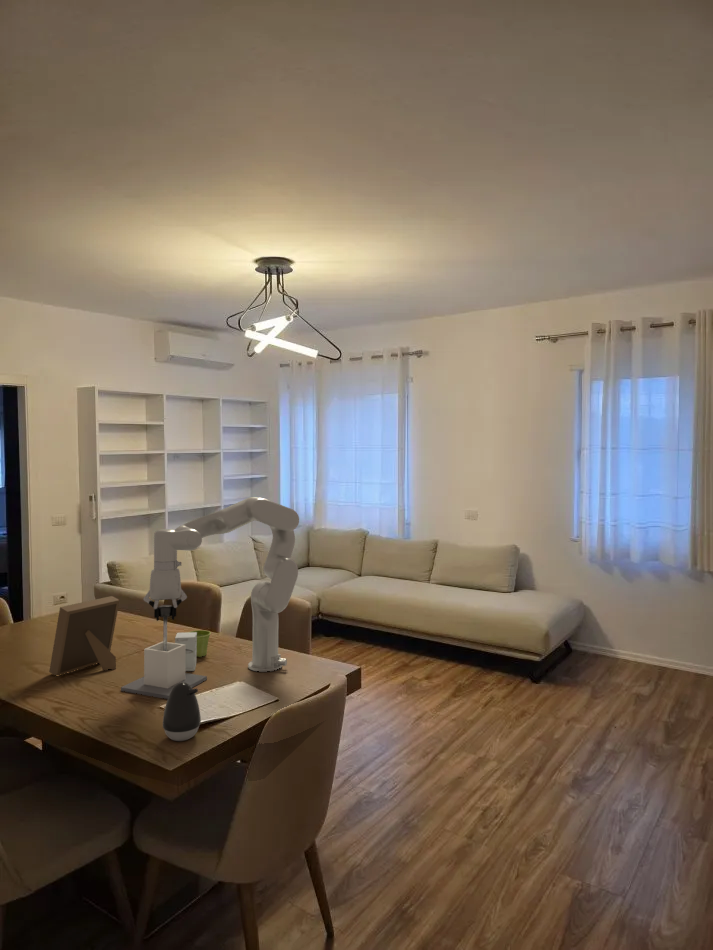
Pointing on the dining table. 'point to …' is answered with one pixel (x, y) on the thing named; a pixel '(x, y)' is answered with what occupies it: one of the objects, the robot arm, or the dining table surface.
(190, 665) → the supplement box
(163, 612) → the plunger
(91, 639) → the photo frame
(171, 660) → the grey square base
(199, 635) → the plant pot
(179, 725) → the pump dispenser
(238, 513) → the robot arm
